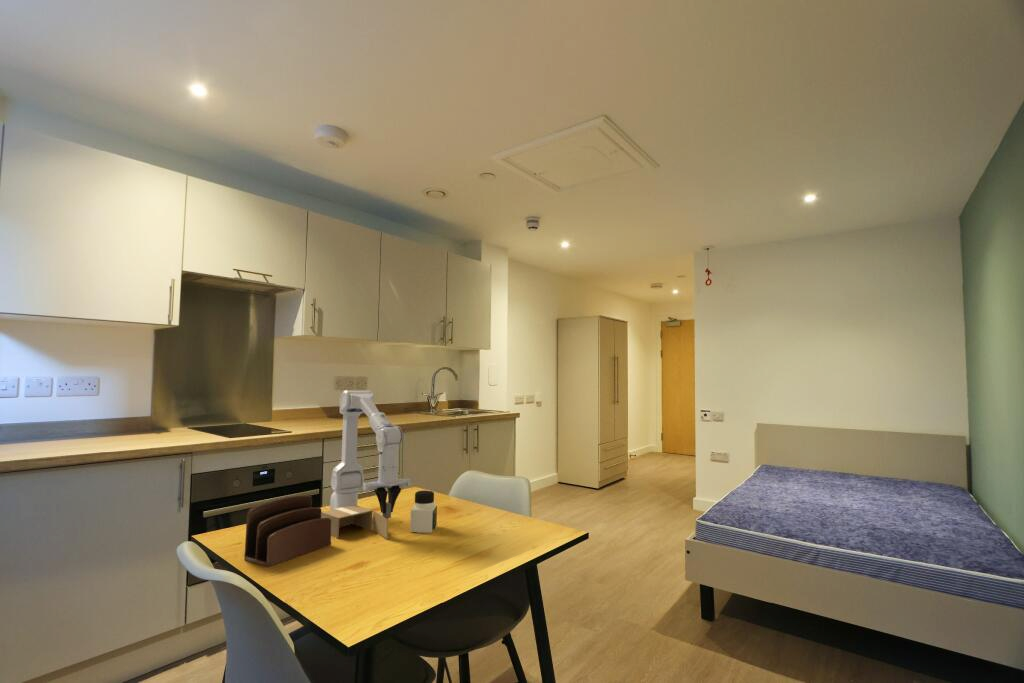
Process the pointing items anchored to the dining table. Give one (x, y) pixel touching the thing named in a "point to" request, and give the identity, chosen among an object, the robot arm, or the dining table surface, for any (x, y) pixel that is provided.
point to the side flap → (382, 521)
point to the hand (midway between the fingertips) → (386, 512)
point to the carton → (348, 518)
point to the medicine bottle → (423, 513)
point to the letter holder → (285, 530)
